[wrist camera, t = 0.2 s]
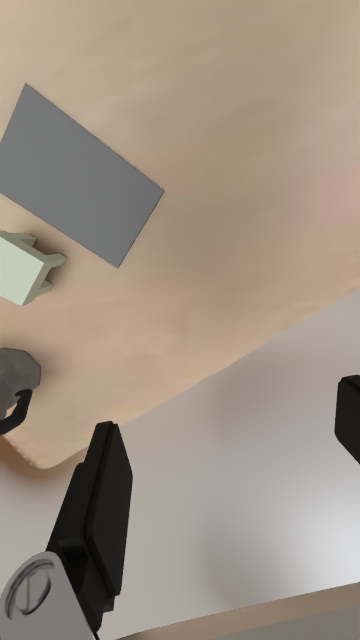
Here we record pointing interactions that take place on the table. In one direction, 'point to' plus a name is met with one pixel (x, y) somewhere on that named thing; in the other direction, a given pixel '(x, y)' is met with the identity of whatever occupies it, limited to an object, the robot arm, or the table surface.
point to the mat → (73, 179)
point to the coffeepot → (16, 386)
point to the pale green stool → (24, 268)
